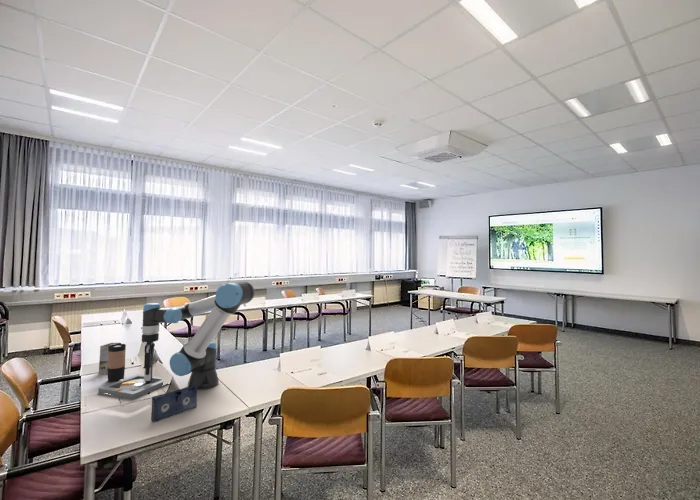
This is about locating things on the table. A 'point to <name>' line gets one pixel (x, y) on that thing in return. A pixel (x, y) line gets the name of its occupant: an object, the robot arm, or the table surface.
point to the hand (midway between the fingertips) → (148, 379)
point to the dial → (137, 383)
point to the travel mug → (116, 362)
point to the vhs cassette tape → (173, 403)
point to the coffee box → (104, 358)
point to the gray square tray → (119, 392)
